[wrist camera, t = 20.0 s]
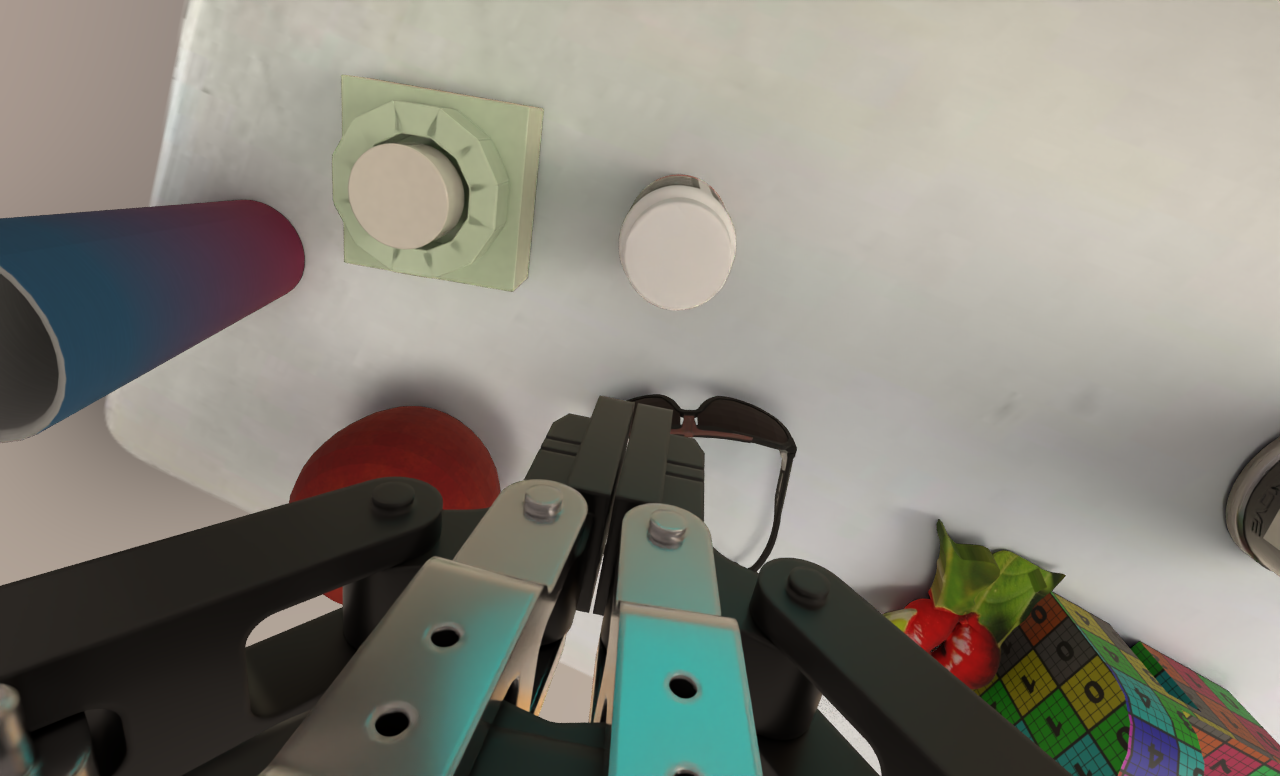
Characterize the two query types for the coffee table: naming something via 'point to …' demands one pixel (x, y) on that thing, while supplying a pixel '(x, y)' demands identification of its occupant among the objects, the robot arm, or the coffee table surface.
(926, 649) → the decorative ornament
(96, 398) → the cup
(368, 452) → the apple
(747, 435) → the sunglasses
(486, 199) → the button base
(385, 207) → the beige button cap
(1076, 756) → the block
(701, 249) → the pill bottle
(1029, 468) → the coffee table surface
